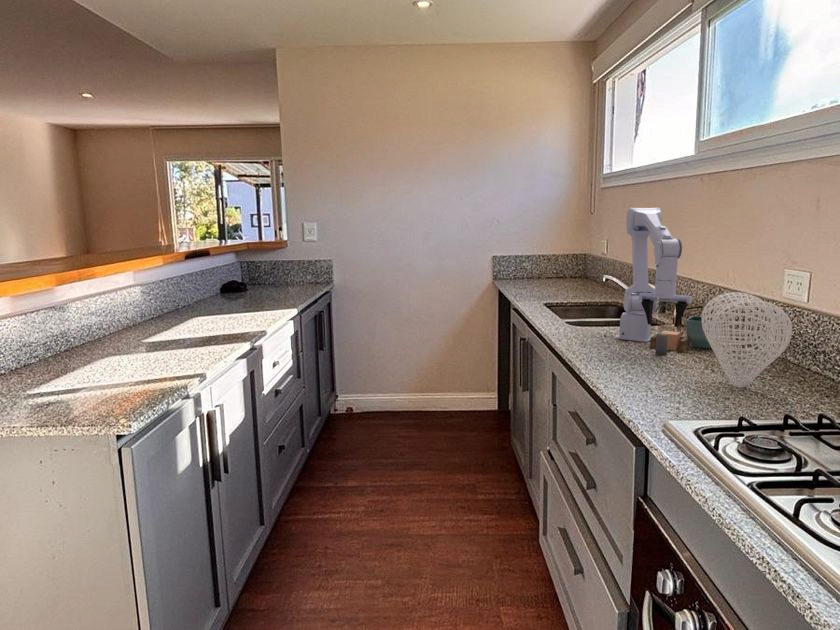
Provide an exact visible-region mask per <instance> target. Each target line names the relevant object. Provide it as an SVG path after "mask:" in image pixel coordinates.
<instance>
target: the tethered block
mask: <svg viewBox="0 0 840 630" xmlns="http://www.w3.org/2000/svg"><path fill="white" fill-rule="evenodd" d="M656 334H657V336H656V348H655V355H657V356H667V355H668V351H673V352H674V351H677V350H679V349H680V336H682V332H680V331H671V330H670V331H669V330H662V331H661V332H660V333H656ZM678 348H679V349H678Z"/></svg>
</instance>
